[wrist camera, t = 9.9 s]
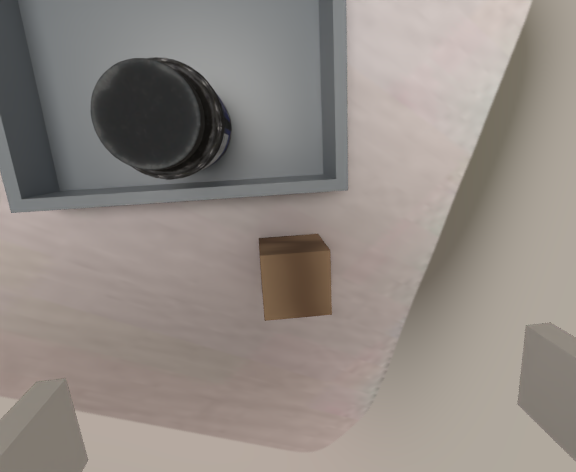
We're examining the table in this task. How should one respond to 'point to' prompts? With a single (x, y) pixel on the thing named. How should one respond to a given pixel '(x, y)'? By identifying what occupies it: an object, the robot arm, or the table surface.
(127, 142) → the pill bottle
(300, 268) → the walnut cube
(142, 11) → the tote
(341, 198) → the table surface
